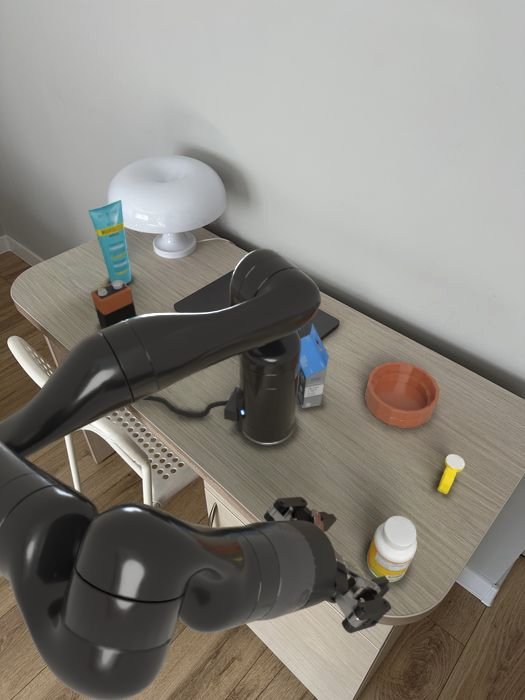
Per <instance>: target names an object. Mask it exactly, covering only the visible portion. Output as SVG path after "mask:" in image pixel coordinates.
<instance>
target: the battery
mask: <svg viewBox="0 0 525 700" xmlns="http://www.w3.org/2000/svg"><path fill="white" fill-rule="evenodd" d="M91 298H92V301H93V304H94V305H93V306H94V309H95V312H96V315H97V318H98V322H99V326H100V327H101V328H102V329H104V328H107V327H109V326H112V325H114V324H117V323H119V322H121V321H124V320H127V319H129V318H132V317H135V316H137V312H136V307H135V302H134V298H133V293H132V289H131V288H130V287H129V285H127V284H125V283H123V282H122V281H121V280H118V281H114V282H113V283H111V282H110V284H107V285H104V286H102V287H100V288H97V289H95V290H93V291H91Z"/></svg>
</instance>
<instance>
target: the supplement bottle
mask: <svg viewBox="0 0 525 700" xmlns="http://www.w3.org/2000/svg"><path fill="white" fill-rule="evenodd" d="M417 547H418V543H417V528H416V526H415V524H414V523H413V522H412V521H411V520H410V519H408V518H407V517H405V516H402V515H393V516H390V517H389V518H388V519H387V520H386V521H385V522H382V523H381V524H379V526H378V527H377V528H376V530H375V532H374V535H373V537H372V541H371V542H370V545H369V549H368V552H367V555H366V563H367V567H368V569H369V571H370V572H371V573H372V574H373V575H374V576H375V578H378V577H381V576H385V577H386V578H387V579H388V580H389V583H393V582H397V581H399V580H400V579H402V578H403V577H404V575H405V574H406V573H407V570H408V568H409V566H410V564H411V563H412V560H413V559H414V556H415V554H416V552H417Z"/></svg>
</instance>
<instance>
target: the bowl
mask: <svg viewBox="0 0 525 700" xmlns="http://www.w3.org/2000/svg"><path fill="white" fill-rule="evenodd" d="M440 392H441V391H440V388H439V384H438V382H437V381H436V379H435V378H434V377H433V376H432V375H431V374H430V373H429V372H428V370H425V369H423V368H421V367H419V366H417V365H416V364H413V363H408V362H404V361H387V362H385V363H382V364H379V365H377V366H376V367H375V368H374V369H372V370H371V372H370V373H369V375H368V380H367V384H366V389H365V393H364V400H365V403H366V407H367V409H368V410H369V411H370V412H371V413H372V414H373V416H374V417H375V418H377V419H378V420H380V421H382V422H383V423H385V424H387V425H389V426H393V427H397V428H400V429H401V428H402V429H407V428H408V429H409V428H418V427H420V426H421V425H423V424H426V423H427V422H428V421H429V420H430V419H431V417H432V416H433V415H434V413H435V411H436V407H437V405H438V402H439V400H440Z"/></svg>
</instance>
